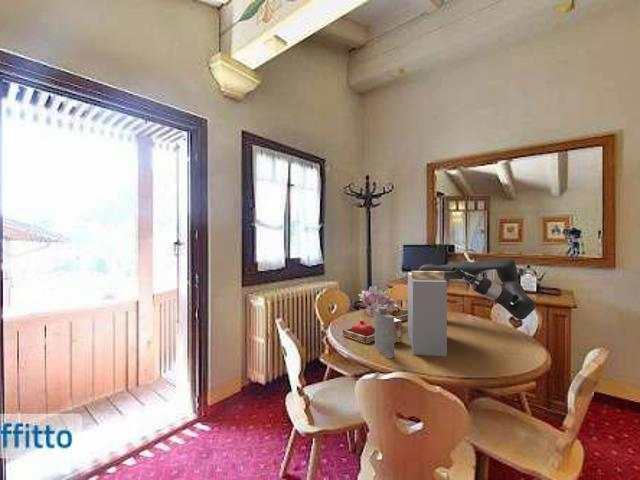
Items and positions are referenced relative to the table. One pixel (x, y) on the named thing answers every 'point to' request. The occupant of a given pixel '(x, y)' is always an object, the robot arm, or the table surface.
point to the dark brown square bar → (435, 275)
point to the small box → (397, 330)
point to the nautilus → (393, 311)
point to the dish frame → (358, 336)
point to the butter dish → (362, 329)
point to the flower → (380, 298)
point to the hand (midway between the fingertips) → (453, 269)
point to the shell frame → (402, 317)
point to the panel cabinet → (427, 316)
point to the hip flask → (384, 332)
